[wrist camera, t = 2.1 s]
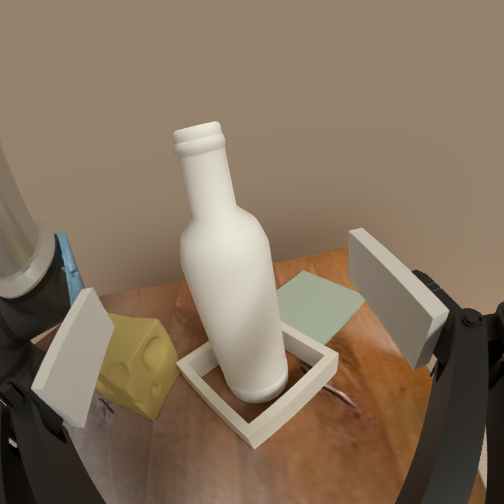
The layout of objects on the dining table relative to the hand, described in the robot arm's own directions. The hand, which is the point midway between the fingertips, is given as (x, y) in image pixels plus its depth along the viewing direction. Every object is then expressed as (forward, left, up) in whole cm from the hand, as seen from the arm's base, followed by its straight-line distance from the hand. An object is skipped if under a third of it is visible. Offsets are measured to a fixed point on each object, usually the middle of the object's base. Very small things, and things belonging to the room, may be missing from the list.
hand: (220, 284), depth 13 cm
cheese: (-19, -8, -23) cm, 31 cm away
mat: (-12, +20, -23) cm, 33 cm away
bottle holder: (-8, +5, -23) cm, 25 cm away
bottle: (-8, +5, -23) cm, 25 cm away
